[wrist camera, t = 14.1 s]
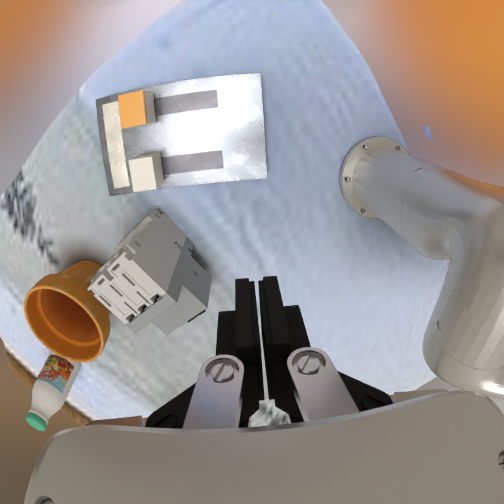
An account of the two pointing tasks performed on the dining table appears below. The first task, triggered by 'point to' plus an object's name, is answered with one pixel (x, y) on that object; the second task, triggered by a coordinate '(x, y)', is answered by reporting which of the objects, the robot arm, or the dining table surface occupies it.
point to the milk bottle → (51, 389)
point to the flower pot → (69, 313)
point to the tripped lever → (136, 109)
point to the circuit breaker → (153, 277)
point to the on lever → (146, 172)
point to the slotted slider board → (190, 133)
